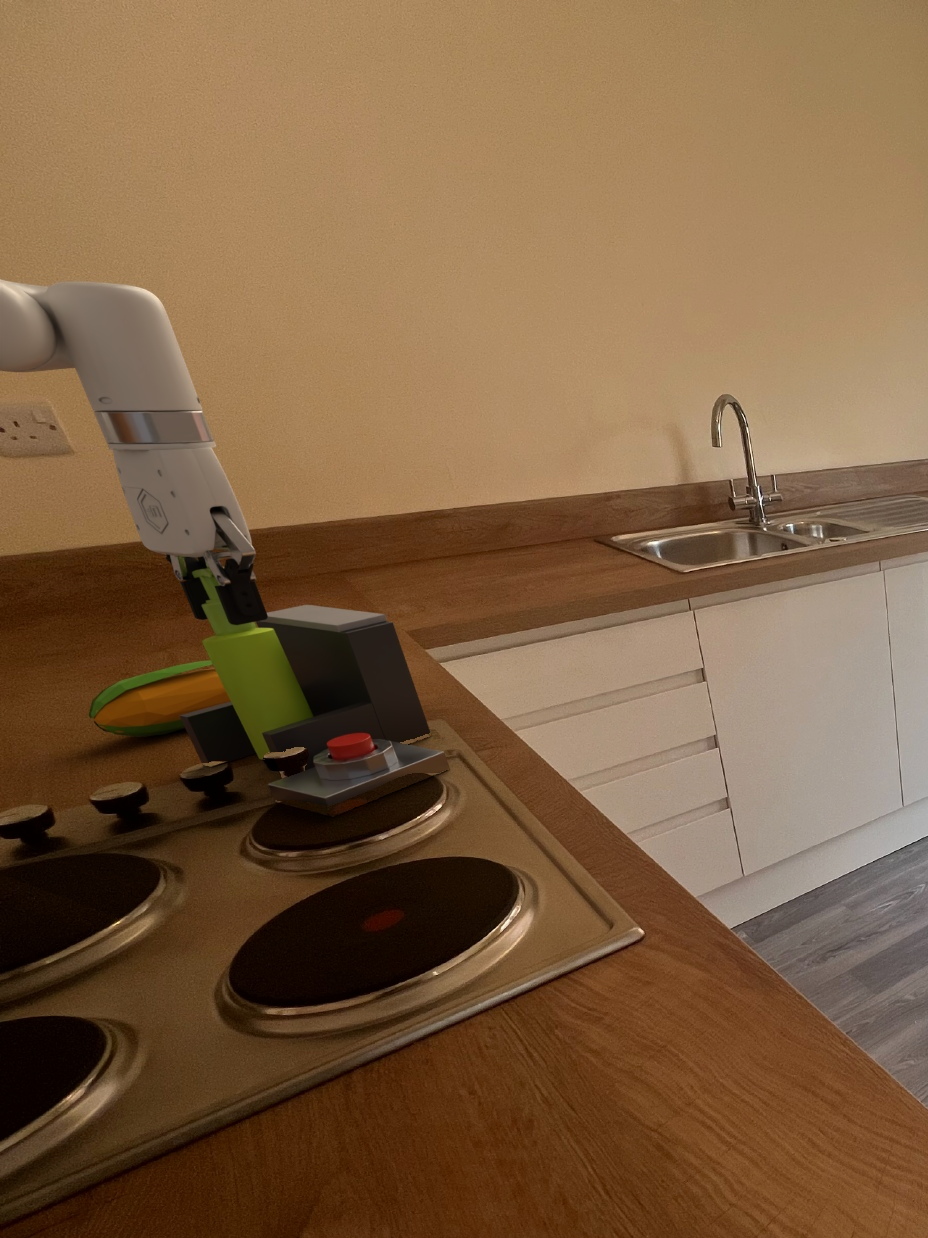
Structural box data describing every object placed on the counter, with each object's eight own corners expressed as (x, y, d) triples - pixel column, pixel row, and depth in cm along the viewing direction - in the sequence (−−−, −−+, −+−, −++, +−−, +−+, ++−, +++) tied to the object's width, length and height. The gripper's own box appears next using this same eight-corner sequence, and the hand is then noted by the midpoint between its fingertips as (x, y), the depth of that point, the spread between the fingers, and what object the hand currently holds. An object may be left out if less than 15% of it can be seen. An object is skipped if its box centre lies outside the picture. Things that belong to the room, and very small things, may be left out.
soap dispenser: (273, 762, 89) (181, 572, 82) (250, 756, 93) (160, 574, 85) (337, 744, 94) (255, 562, 86) (313, 739, 97) (232, 564, 90)
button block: (332, 818, 82) (317, 780, 80) (275, 803, 85) (259, 767, 83) (450, 769, 92) (439, 736, 90) (395, 758, 95) (383, 725, 93)
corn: (58, 682, 96) (258, 637, 113) (88, 742, 100) (278, 690, 116) (94, 693, 94) (294, 646, 111) (124, 755, 97) (313, 700, 114)
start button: (347, 764, 84) (341, 748, 84) (324, 759, 86) (318, 743, 85) (383, 750, 88) (378, 735, 87) (361, 746, 89) (355, 730, 88)
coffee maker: (293, 787, 88) (234, 651, 82) (203, 765, 93) (141, 636, 87) (433, 736, 101) (391, 614, 94) (346, 719, 106) (301, 603, 100)
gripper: (57, 431, 80) (140, 620, 87) (160, 435, 74) (240, 636, 82) (156, 429, 86) (226, 605, 94) (258, 432, 81) (324, 619, 88)
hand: (231, 617), depth 88 cm, fingers closed on soap dispenser, 5 cm apart
